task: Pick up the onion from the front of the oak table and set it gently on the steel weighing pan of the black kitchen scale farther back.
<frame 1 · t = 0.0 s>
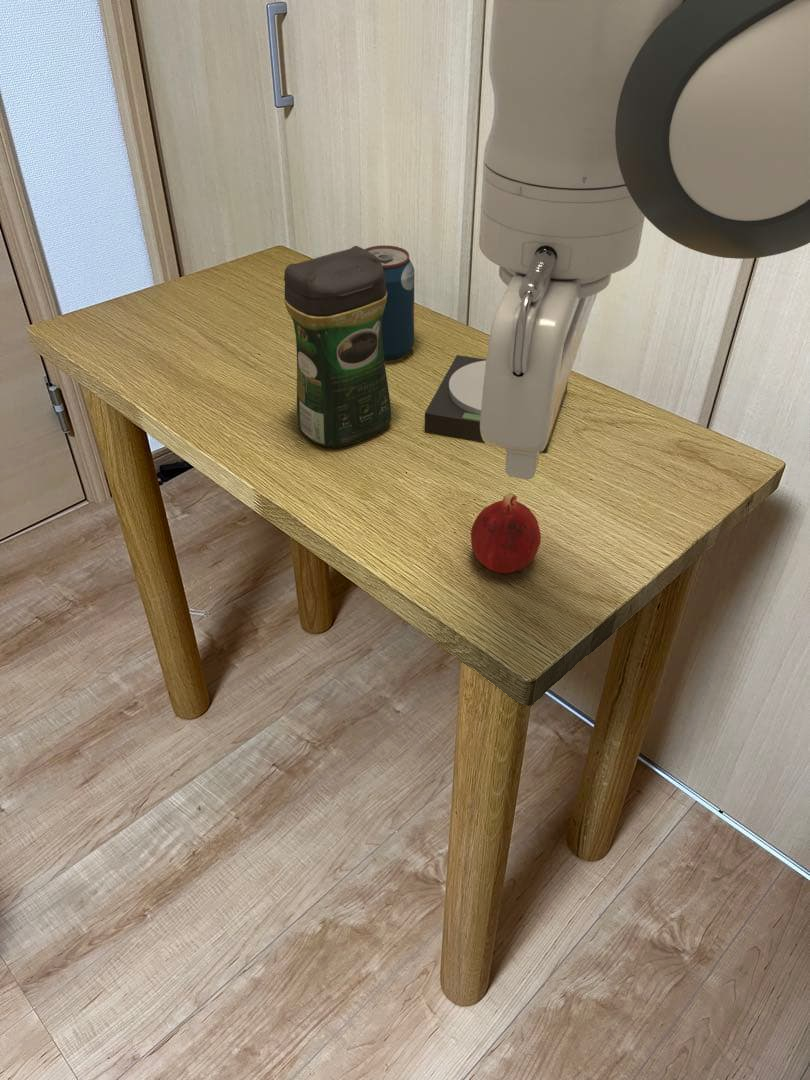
hand: (535, 430, 55), 19 cm above the table, tool pointing down, fingers open, 8 cm apart
soda can: (385, 353, 103), on the table
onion: (502, 571, 73), on the table
coffee jar: (344, 428, 90), on the table
scale: (498, 410, 93), on the table
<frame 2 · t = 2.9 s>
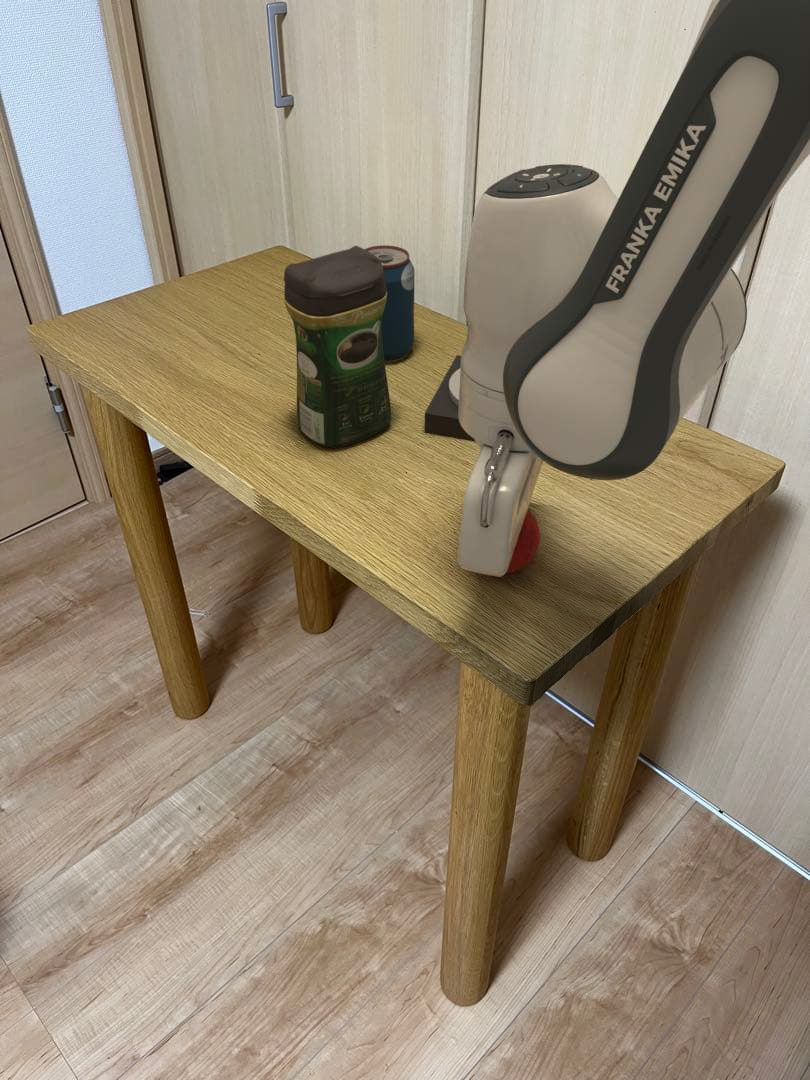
hand: (504, 541, 71), 3 cm above the table, tool pointing down, fingers closed on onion, 6 cm apart
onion: (501, 571, 73), on the table, touching gripper
everything else where it was.
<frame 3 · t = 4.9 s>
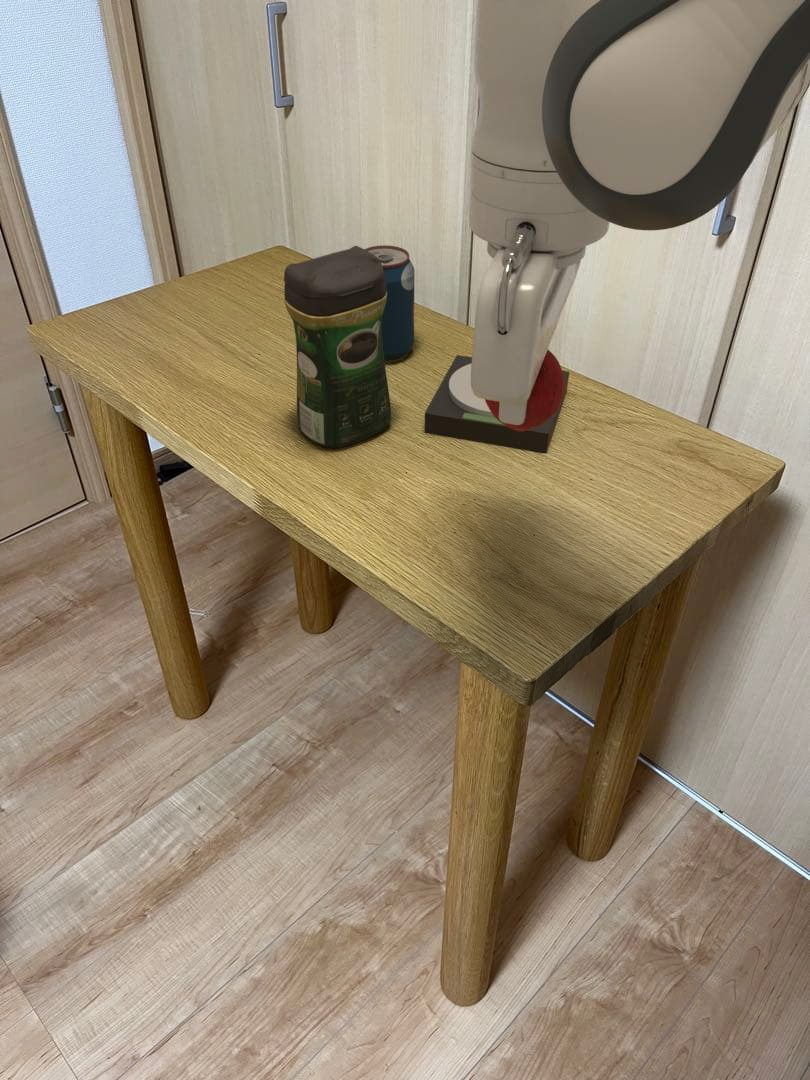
hand: (523, 392, 62), 18 cm above the table, tool pointing down, fingers closed on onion, 6 cm apart
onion: (520, 432, 64), point 14 cm above the table, touching gripper
everything else where it was.
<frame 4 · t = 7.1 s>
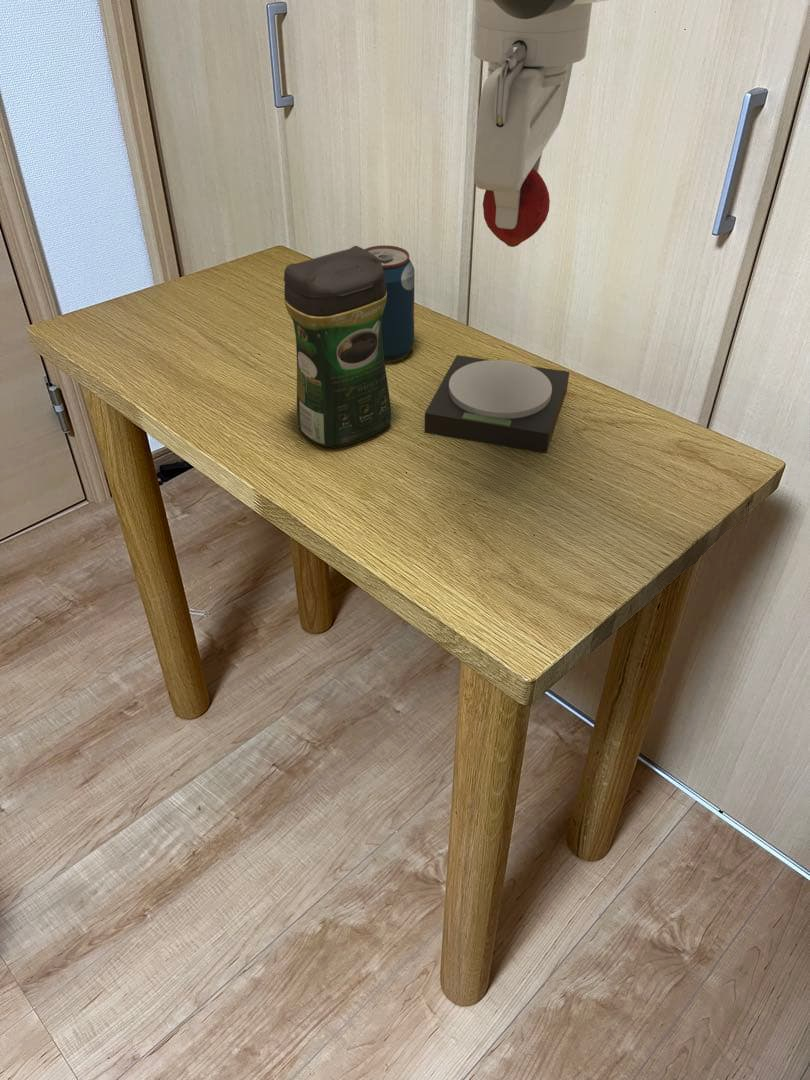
hand: (515, 210, 75), 23 cm above the table, tool pointing down, fingers closed on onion, 6 cm apart
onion: (512, 248, 77), point 20 cm above the table, touching gripper
everything else where it was.
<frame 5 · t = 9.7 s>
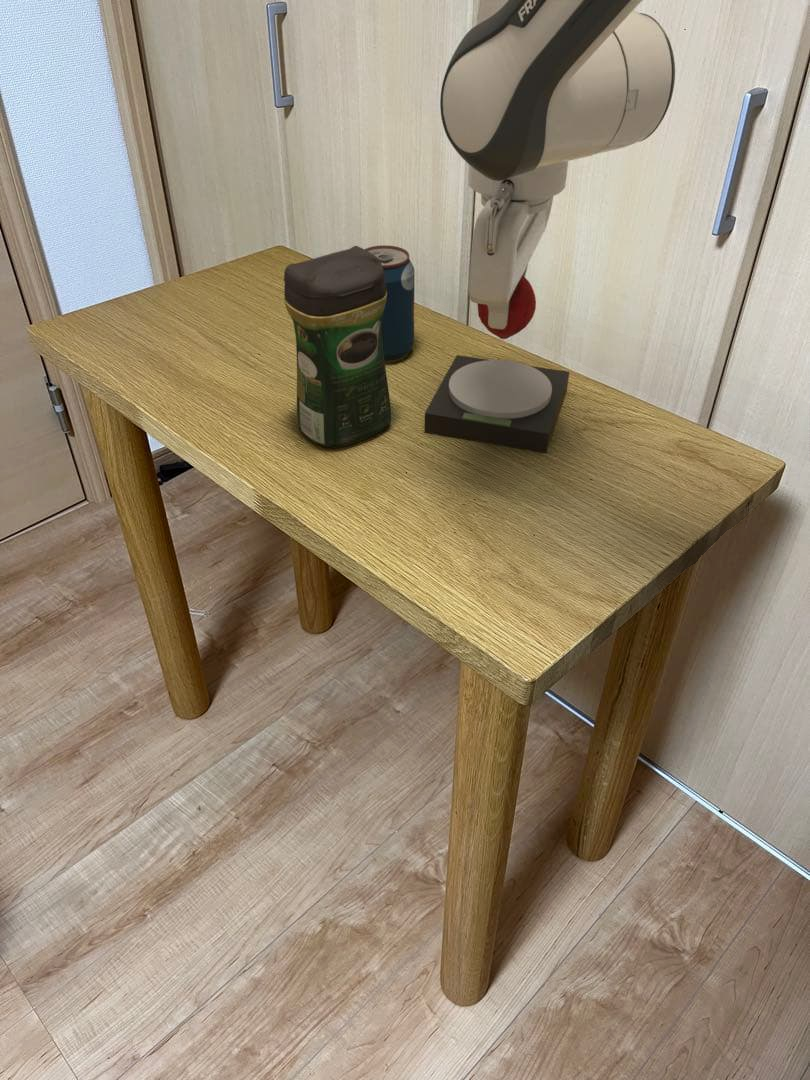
hand: (506, 309, 85), 12 cm above the table, tool pointing down, fingers closed on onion, 6 cm apart
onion: (503, 340, 87), point 9 cm above the table, touching gripper
everything else where it was.
when the fingers open (6 cm above the table, at t = 11.6 s): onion stays where it is, resting on scale.
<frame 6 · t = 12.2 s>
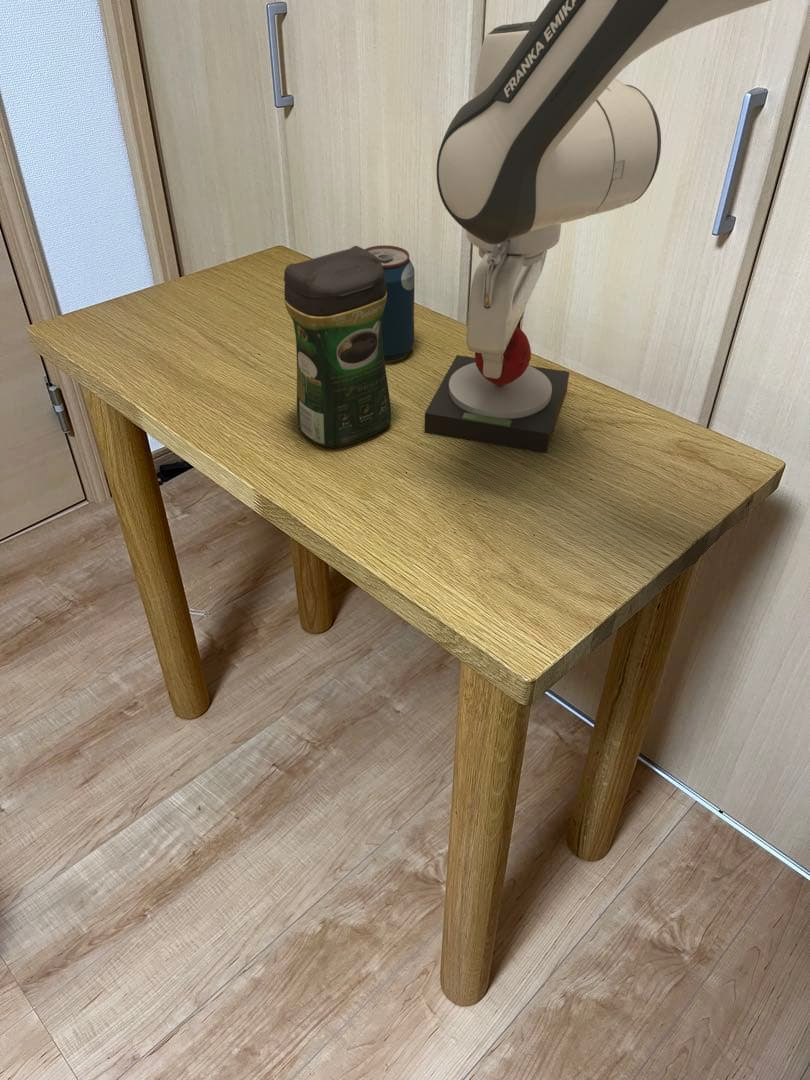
hand: (503, 352, 88), 7 cm above the table, tool pointing down, fingers open, 8 cm apart
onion: (500, 387, 91), point 3 cm above the table, touching scale
everything else where it was.
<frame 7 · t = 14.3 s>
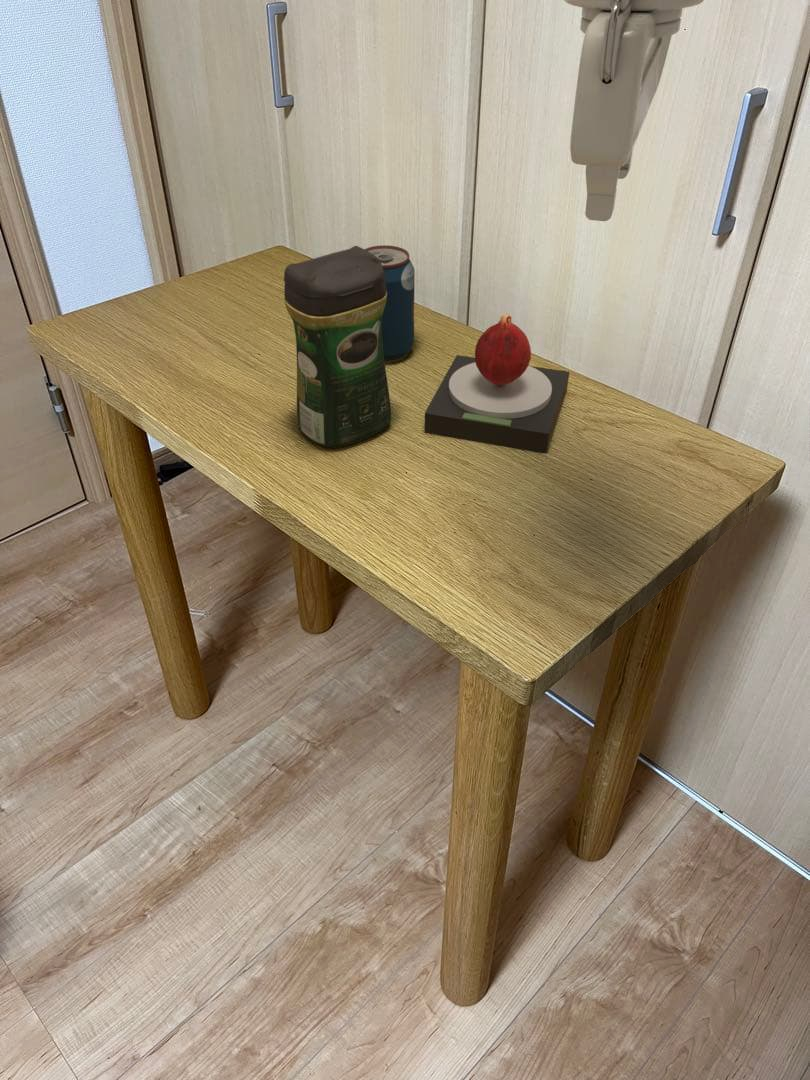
hand: (608, 195, 62), 28 cm above the table, tool pointing down, fingers open, 8 cm apart
nothing on the table moved.
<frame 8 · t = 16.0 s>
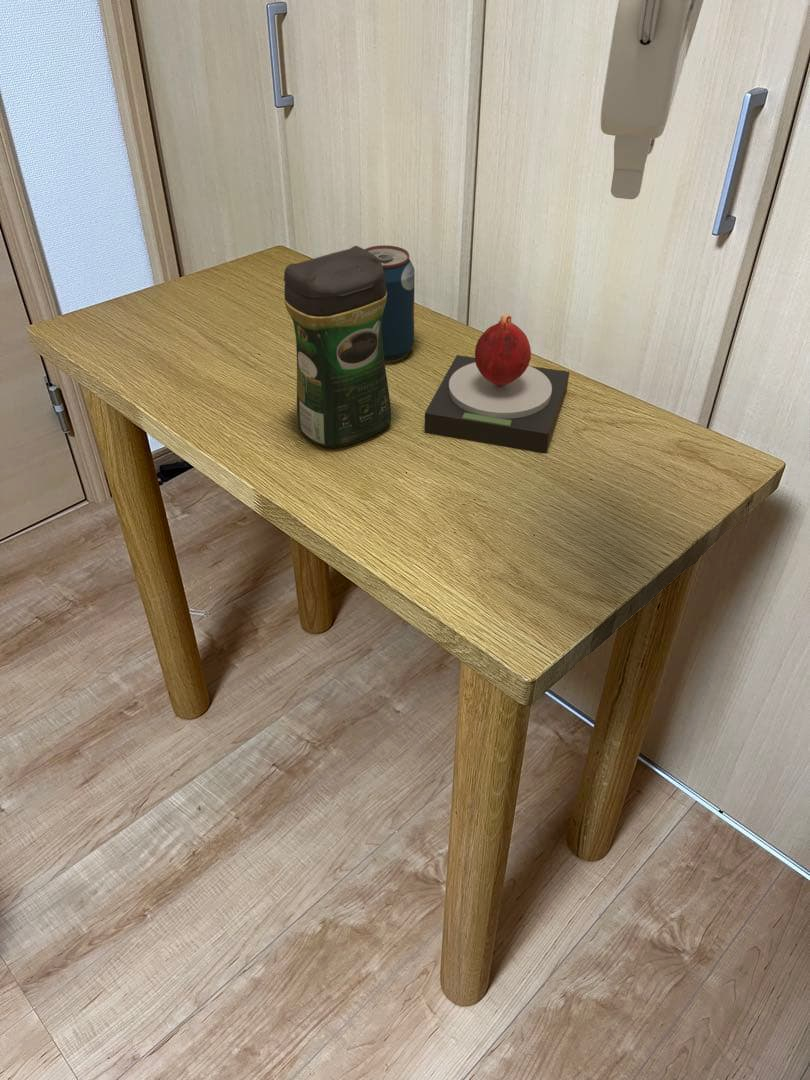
hand: (632, 172, 58), 31 cm above the table, tool pointing down, fingers open, 8 cm apart
nothing on the table moved.
at the end: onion inside the target area on the scale (0.1 cm from its centre), point 3.0 cm above the scale's base; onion touching scale; the gripper is holding nothing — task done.
